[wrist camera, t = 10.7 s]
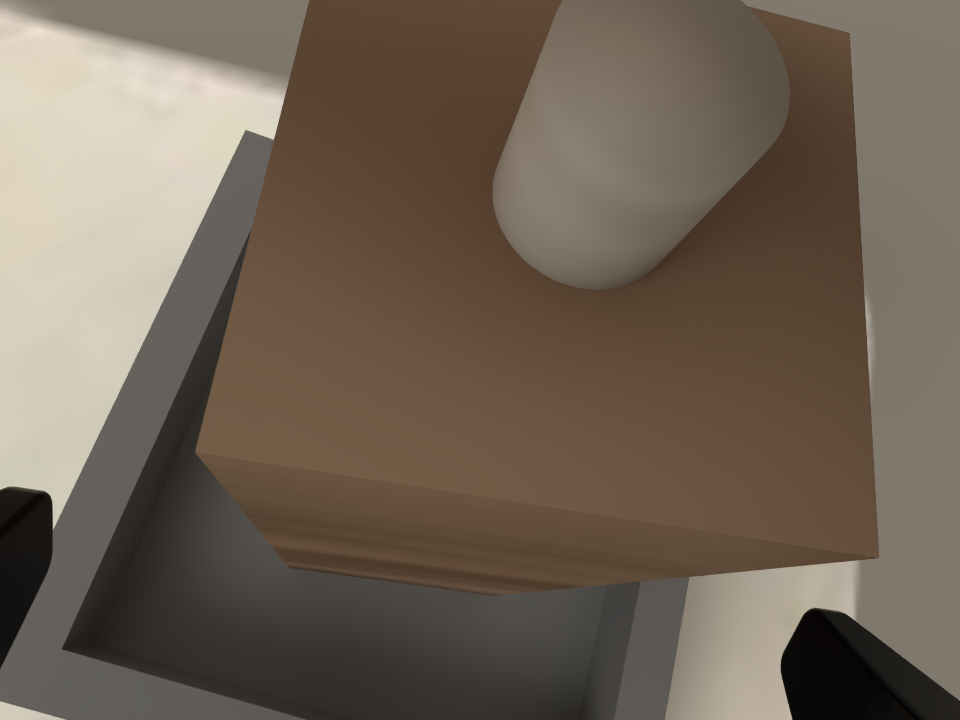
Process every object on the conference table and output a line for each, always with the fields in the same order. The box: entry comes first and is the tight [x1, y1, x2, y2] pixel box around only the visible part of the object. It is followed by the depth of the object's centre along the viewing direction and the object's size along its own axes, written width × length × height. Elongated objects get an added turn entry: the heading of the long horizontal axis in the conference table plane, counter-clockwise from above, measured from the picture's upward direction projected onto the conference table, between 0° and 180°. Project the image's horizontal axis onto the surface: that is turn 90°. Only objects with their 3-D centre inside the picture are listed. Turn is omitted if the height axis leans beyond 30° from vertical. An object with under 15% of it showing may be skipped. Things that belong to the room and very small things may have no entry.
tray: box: [0, 130, 689, 720], centre depth 17 cm, size 12×12×3 cm
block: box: [195, 0, 879, 596], centre depth 11 cm, size 4×4×14 cm
